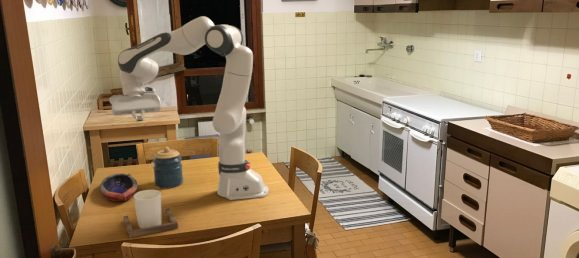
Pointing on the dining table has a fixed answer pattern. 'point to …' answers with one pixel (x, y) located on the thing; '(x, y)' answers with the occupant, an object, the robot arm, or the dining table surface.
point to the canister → (167, 168)
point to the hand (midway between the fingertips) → (139, 120)
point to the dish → (118, 187)
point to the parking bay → (153, 229)
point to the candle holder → (148, 208)
